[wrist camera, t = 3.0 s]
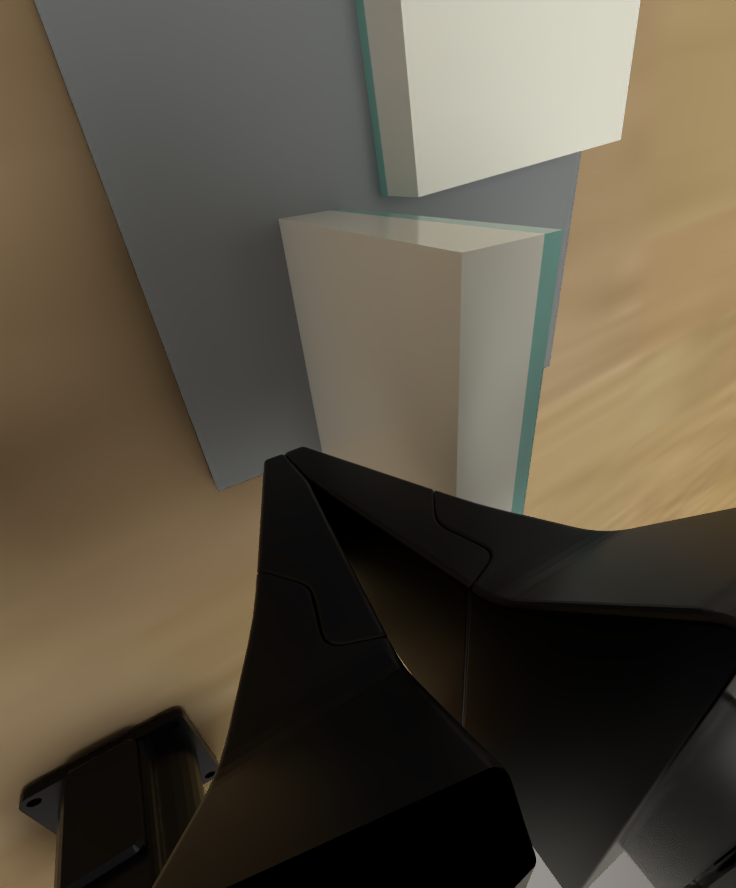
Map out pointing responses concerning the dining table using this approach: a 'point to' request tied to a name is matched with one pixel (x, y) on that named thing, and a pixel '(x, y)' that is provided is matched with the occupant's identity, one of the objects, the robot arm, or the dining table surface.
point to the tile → (425, 344)
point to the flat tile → (490, 84)
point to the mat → (246, 187)
